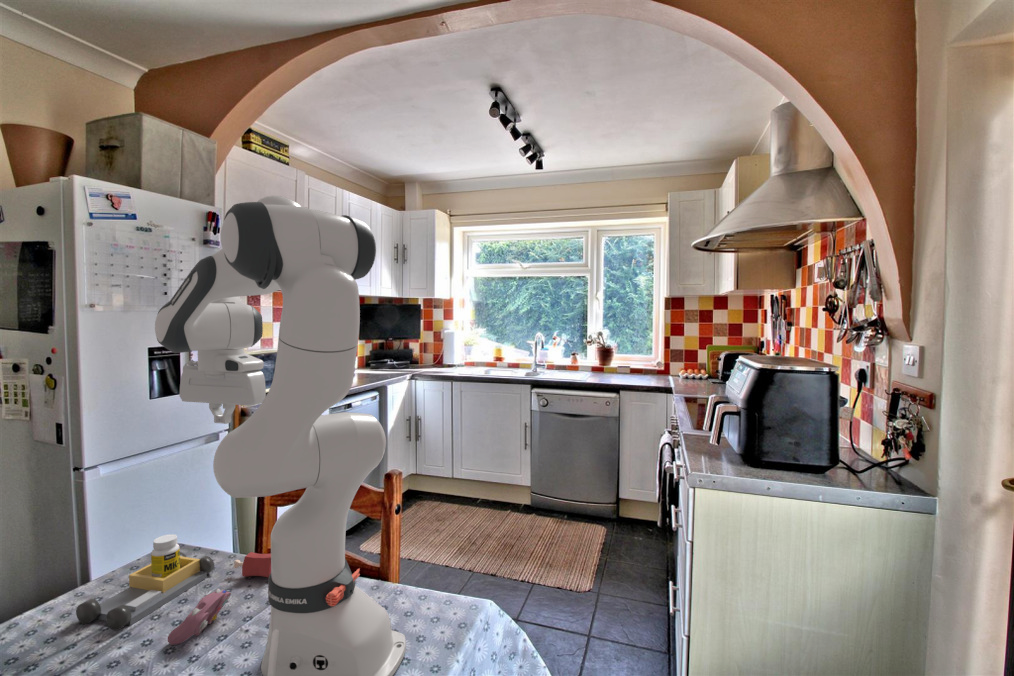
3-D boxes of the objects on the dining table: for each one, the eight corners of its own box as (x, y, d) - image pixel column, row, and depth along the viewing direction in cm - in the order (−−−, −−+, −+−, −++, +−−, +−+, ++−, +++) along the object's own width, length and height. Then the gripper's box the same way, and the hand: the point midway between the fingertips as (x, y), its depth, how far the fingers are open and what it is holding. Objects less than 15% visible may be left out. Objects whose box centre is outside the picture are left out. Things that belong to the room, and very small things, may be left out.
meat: (224, 579, 98) (228, 553, 99) (239, 573, 103) (242, 549, 104) (281, 581, 97) (284, 555, 98) (292, 575, 102) (295, 551, 103)
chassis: (214, 573, 101) (214, 557, 101) (122, 631, 82) (121, 611, 82) (174, 567, 103) (173, 551, 103) (76, 622, 85) (75, 602, 85)
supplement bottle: (165, 586, 94) (164, 545, 94) (145, 583, 95) (144, 542, 95) (186, 573, 99) (184, 534, 98) (167, 571, 100) (166, 532, 99)
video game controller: (186, 656, 79) (204, 620, 78) (162, 644, 79) (179, 608, 78) (223, 618, 89) (239, 586, 88) (202, 607, 89) (218, 575, 88)
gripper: (170, 361, 105) (172, 423, 105) (248, 364, 100) (249, 429, 101) (195, 359, 111) (197, 417, 111) (270, 361, 106) (271, 422, 107)
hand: (222, 423), depth 106 cm, fingers closed
